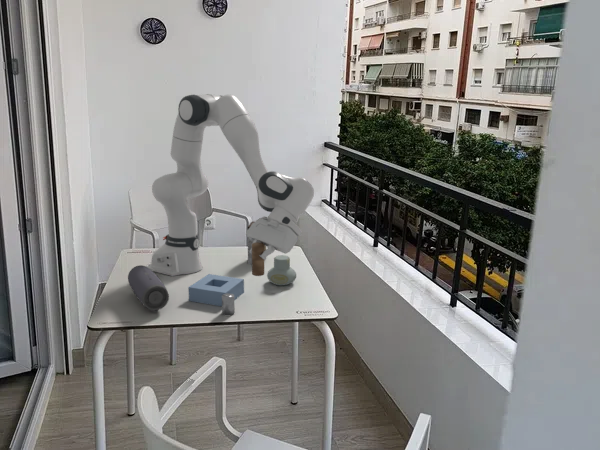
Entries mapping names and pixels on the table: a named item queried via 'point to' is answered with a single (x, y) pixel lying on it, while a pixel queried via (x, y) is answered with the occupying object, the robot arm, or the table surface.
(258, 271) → the long pin
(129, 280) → the bluetooth speaker
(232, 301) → the short pin
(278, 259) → the air freshener
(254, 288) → the table surface
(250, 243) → the coffee box
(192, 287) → the collar block
